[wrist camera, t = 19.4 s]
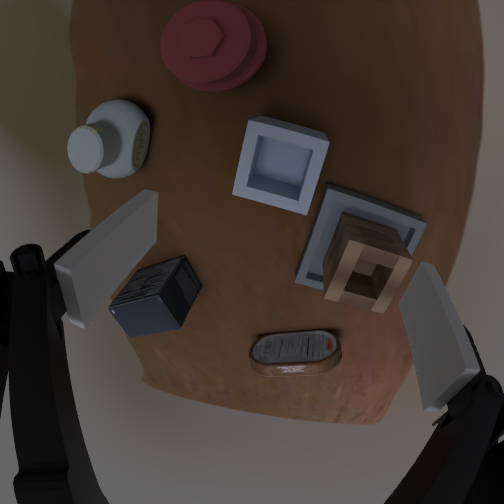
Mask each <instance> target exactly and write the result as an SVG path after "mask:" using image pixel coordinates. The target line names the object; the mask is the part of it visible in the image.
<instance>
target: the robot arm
mask: <svg viewBox="0 0 504 504" xmlns="http://www.w3.org/2000/svg"><path fill="white" fill-rule="evenodd" d="M157 209H158V192H155V191H150V190H145V189H144V190H143V191H142V192H140V193H139V194H138V195H136V196H135V197H134V198H132V199H131V200H130V201H128V202H127V203H126V204H124V205H123V206H122V207H120V208H119V209H118V210H117V211H115V212H114V213H113V214H111V215H110V216H109V217H108V218H106V219H105V220H104V221H103V222H101V223H100V224H99V225H98V226H97V227H95V228H94V229H93V230H92V231H91V230H85V231H83V232H81V233H78V234H77V235H75V236H74V237H73V238H72V239H71V240H70V241H69V242H67V243H66V244H65V245H64V246H63V247H61V248H60V249H59V250H58V251H57V252H55V253H54V254H53V255H52V256H51V257H50V258H49V259H48V260H46V261H45V259H44V255H43V250H42V248H41V247H40V246H39V245H37V244H26V245H22V246H20V247H19V248H17V249H15V250H14V251H13V252H12V254H11V256H10V260H11V264H12V267H13V270H14V272H8V271H5V268H4V264H3V262H2V261H0V417H1V409H2V402H3V397H4V391H5V386H6V380H7V375H8V371H9V393H10V394H9V395H10V409H11V419H12V428H13V436H14V443H15V449H16V454H17V460H18V465H19V472H18V474H17V475H16V476H15V477H14V482H13V485H14V492H15V496H16V500H17V503H18V504H109V503H108V501H107V499H106V497H105V496H104V494H103V493H102V491H101V489H100V487H99V485H98V482H97V479H96V477H95V474H94V471H93V468H92V465H91V462H90V458H89V455H88V452H87V449H86V445H85V442H84V438H83V435H82V431H81V427H80V423H79V419H78V415H77V411H76V406H75V401H74V396H73V391H72V386H71V380H70V374H69V369H68V361H67V354H66V346H65V338H64V329H63V322H62V319H61V317H62V316H63V315H64V314H65V312H66V311H67V314H68V317H69V321H70V322H71V323H73V324H75V325H77V326H80V327H82V328H84V329H85V328H86V327H87V326H88V325H89V323H90V322H91V321H92V319H93V318H94V317H95V316H96V314H97V313H98V312H99V310H100V309H101V308H102V306H103V305H104V304H105V303H106V301H107V300H108V299H109V298H110V296H111V295H112V294H113V293H114V291H115V290H116V289H117V288H118V286H119V285H120V284H121V283H122V281H123V280H124V279H125V278H126V277H127V275H128V274H129V273H130V272H131V271H132V269H133V268H134V267H135V266H136V265H137V263H138V262H139V261H140V260H141V259H142V257H143V256H144V255H145V254H146V253H147V252H148V250H149V249H150V248H151V247H152V246H153V245H154V244H155V242H156V241H157ZM398 304H399V307H400V311H401V314H402V318H403V321H404V325H405V329H406V333H407V336H408V340H409V344H410V348H411V353H412V357H413V361H414V366H415V370H416V375H417V380H418V384H419V390H420V395H421V400H422V406H423V411H428V412H438V411H439V410H440V409H441V408H442V407H443V406H445V405H446V404H447V406H448V411H447V412H446V413H445V414H443V415H442V416H441V417H440V418H439V419H437V420H436V421H435V422H434V423H433V424H432V425H433V426H434V425H436V424H437V423H438V425H437V427H436V429H435V431H434V432H433V434H432V436H431V437H430V439H429V441H428V442H427V444H426V446H425V447H424V449H423V450H422V452H421V453H420V455H419V457H418V458H417V460H416V461H415V463H414V464H413V466H412V467H411V468H410V470H409V471H408V473H407V474H406V476H405V477H404V478H403V480H402V481H401V482H400V484H399V485H398V487H397V488H396V489H395V490H394V492H393V493H392V494H391V495H390V497H389V498H388V499H387V500H386V502H385V503H384V504H504V440H503V441H502V442H500V443H498V439H499V438H500V437H501V436H502V435H504V393H503V390H502V387H501V385H500V383H499V382H498V381H497V380H496V379H495V378H494V377H493V376H490V375H486V372H485V369H484V367H483V364H482V361H481V359H480V356H479V353H478V352H477V348H476V346H475V344H474V341H473V339H472V336H471V334H470V332H469V331H468V330H467V328H466V327H465V326H464V325H463V324H462V322H461V320H460V317H459V315H458V313H457V311H456V309H455V306H454V304H453V302H452V300H451V298H450V296H449V294H448V292H447V290H446V288H445V286H444V284H443V282H442V280H441V278H440V276H439V274H438V272H437V270H436V269H435V267H434V265H432V264H429V263H426V262H421V264H420V265H419V267H418V269H417V271H416V273H415V275H414V277H413V279H412V280H411V282H410V284H409V286H408V288H407V289H406V291H405V293H404V295H403V296H402V298H401V300H400V301H399V303H398Z"/></svg>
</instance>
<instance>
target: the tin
mask: <svg viewBox="0 0 504 504" xmlns="http://www.w3.org/2000/svg"><path fill="white" fill-rule="evenodd" d="M249 358H250V361H251V366H252V369H253V370H254V371H255V372H256V373H258V374H259V375H262V376H266V377H287V376H311V375H321V374H324V373H327V372H329V371H331V370H332V369H334V368H335V367H336V366H337V365H338V364H339V363H340V361H341V358H342V351H341V344H340V341H339V339H338V337H337V336H336V335H335V334H333V333H332V332H329V331H326V330H308V331H294V332H279V333H271V334H267V335H264V336H262V337H260V338H259V339H257V340H256V341H255V342H254V343H253V344H252V346H251V348H250V350H249Z"/></svg>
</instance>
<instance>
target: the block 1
mask: <svg viewBox="0 0 504 504" xmlns="http://www.w3.org/2000/svg"><path fill="white" fill-rule="evenodd" d="M329 143H330V142H329V140H328V138H327V136H326V134H325V133H323V132H320V131H317V130H314V129H310V128H307V127H303V126H300V125H296V124H293V123H289V122H285V121H281V120H277V119H273V118H269V117H265V116H261V115H260V116H258V117H255V118H252V119H250V120H248V125H247V129H246V133H245V138H244V142H243V147H242V151H241V156H240V160H239V165H238V169H237V174H236V178H235V183H234V188H233V192H232V195H236V196H240V197H243V198H247V199H251V200H254V201H258V202H262V203H265V204H269V205H272V206H276V207H279V208H283V209H286V210H290V211H293V212H297V213H300V214H304V215H307V213H308V210H309V207H310V204H311V201H312V197H313V194H314V191H315V188H316V185H317V182H318V179H319V175H320V172H321V169H322V166H323V163H324V159H325V156H326V153H327V149H328V146H329Z"/></svg>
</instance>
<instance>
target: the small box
mask: <svg viewBox="0 0 504 504" xmlns="http://www.w3.org/2000/svg"><path fill="white" fill-rule="evenodd" d="M201 287H202V285H201V283H200V281H199V279H198V277H197V276H196V274H195V272H194V270H193V269H192V267H191V265H190V263H189V261H188V260H187V258H186V256H185V255H183V256H180V257H177V258H173V259H170V260H167V261H164V262H161V263H158V264H155V265H152V266H149V267H146V268H143V269H140V270H137V272H136V273H135V274H134V275H133V277H132V278H131V279H130V281H129V282H128V283H127V285H126V286H125V287H124V288H123V289H122V291H121V292H120V293H119V295H118V296H117V297H116V298H115V300H114V301H113V302H112V303H111V305H110V306H109V307H108V310H109V311H110V313H111V314H112V315H113V317H114V318H115V319H116V320H117V322H118V323H119V325H120V326H121V327H122V328H123V330H124V331H125V332H126V333H127V335H128V336H129V337H134V336H141V335H147V334H153V333H159V332H165V331H171V330H178V329H181V327H182V325H183V322H184V321H185V318H186V316H187V314H188V312H189V310H190V308H191V306H192V304H193V302H194V300H195V298H196V296H197V294H198V293H199V291H200V289H201Z"/></svg>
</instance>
